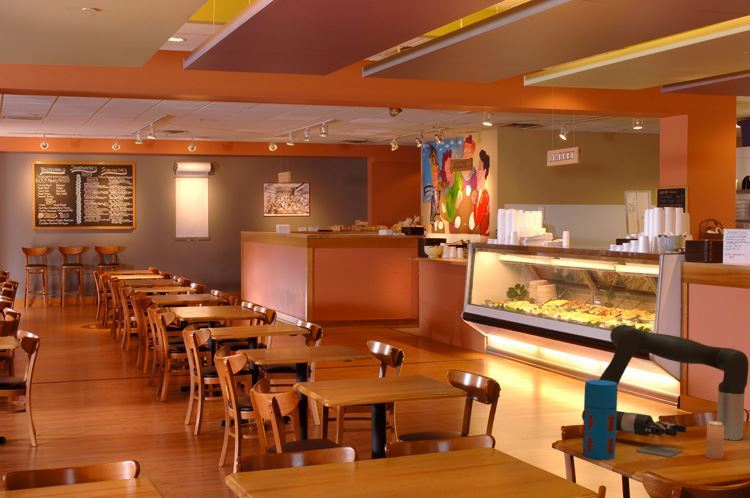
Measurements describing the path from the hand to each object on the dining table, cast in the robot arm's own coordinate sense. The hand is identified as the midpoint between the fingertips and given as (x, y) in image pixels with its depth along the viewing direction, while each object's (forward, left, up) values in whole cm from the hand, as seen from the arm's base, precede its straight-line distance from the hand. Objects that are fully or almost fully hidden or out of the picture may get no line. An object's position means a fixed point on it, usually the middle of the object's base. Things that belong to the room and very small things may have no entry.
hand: (681, 431), depth 332 cm
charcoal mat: (+6, -5, -7) cm, 11 cm away
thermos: (+27, -18, -7) cm, 33 cm away
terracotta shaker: (0, +12, -7) cm, 14 cm away
